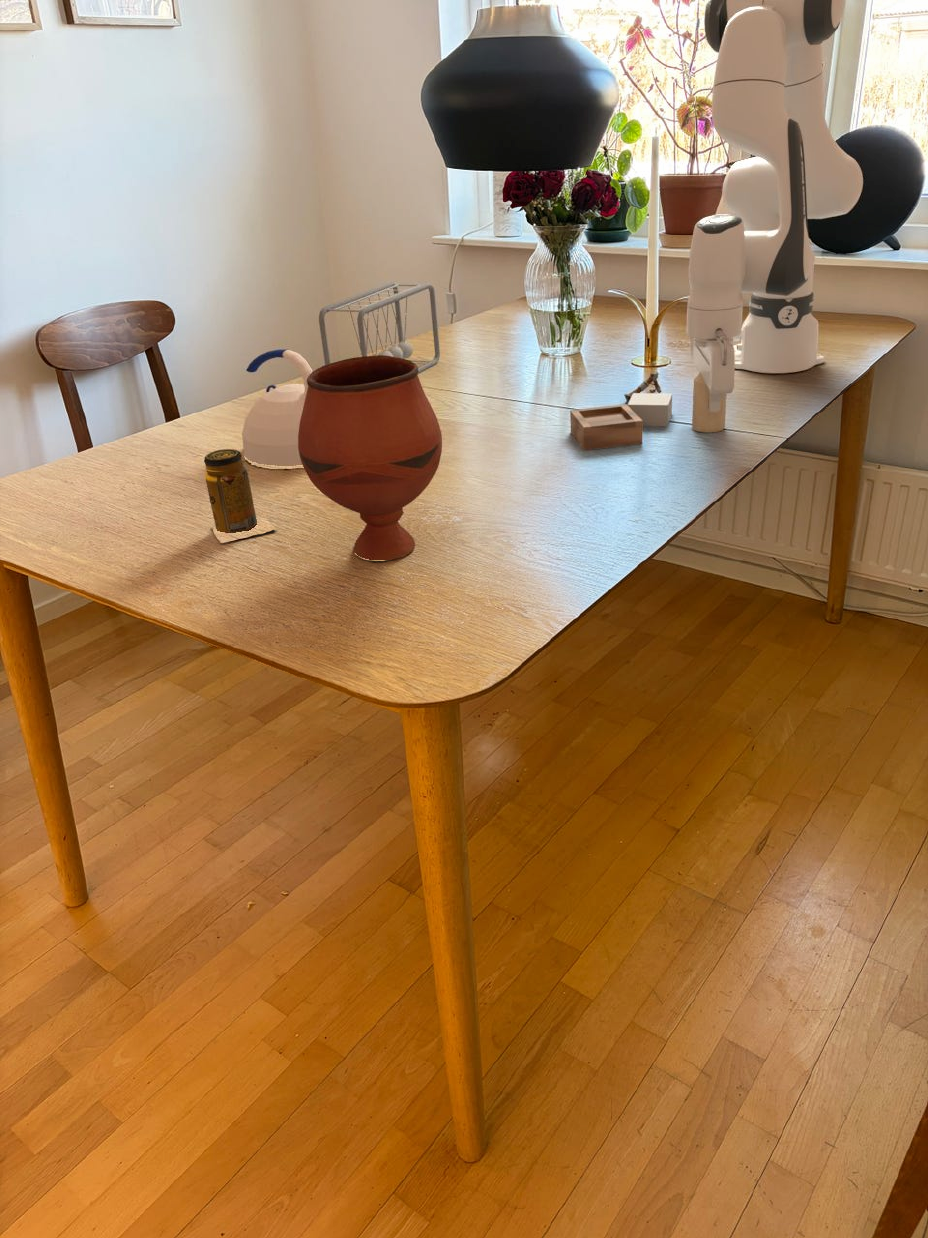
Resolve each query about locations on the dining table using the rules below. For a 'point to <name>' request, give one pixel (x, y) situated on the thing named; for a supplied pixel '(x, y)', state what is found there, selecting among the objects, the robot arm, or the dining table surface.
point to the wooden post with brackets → (645, 384)
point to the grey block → (652, 408)
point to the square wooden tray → (606, 427)
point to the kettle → (276, 417)
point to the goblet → (370, 445)
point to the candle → (706, 409)
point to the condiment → (229, 491)
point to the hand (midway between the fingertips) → (710, 404)
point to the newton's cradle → (403, 347)
